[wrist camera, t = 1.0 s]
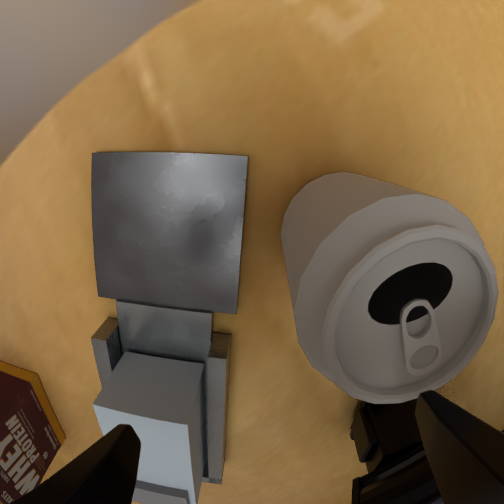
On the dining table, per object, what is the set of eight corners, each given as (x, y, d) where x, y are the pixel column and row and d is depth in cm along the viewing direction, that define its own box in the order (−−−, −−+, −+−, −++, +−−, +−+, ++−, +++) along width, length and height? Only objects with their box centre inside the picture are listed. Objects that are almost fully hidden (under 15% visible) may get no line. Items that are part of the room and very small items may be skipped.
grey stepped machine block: (204, 363, 21) (184, 435, 15) (205, 457, 25) (195, 516, 19) (125, 351, 22) (87, 412, 15) (144, 446, 25) (125, 500, 19)
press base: (248, 156, 18) (245, 156, 15) (227, 461, 27) (224, 484, 24) (96, 152, 18) (72, 154, 16) (132, 445, 27) (124, 465, 24)
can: (378, 156, 18) (509, 174, 7) (403, 265, 20) (506, 370, 9) (263, 192, 19) (260, 257, 8) (300, 300, 21) (328, 445, 10)
